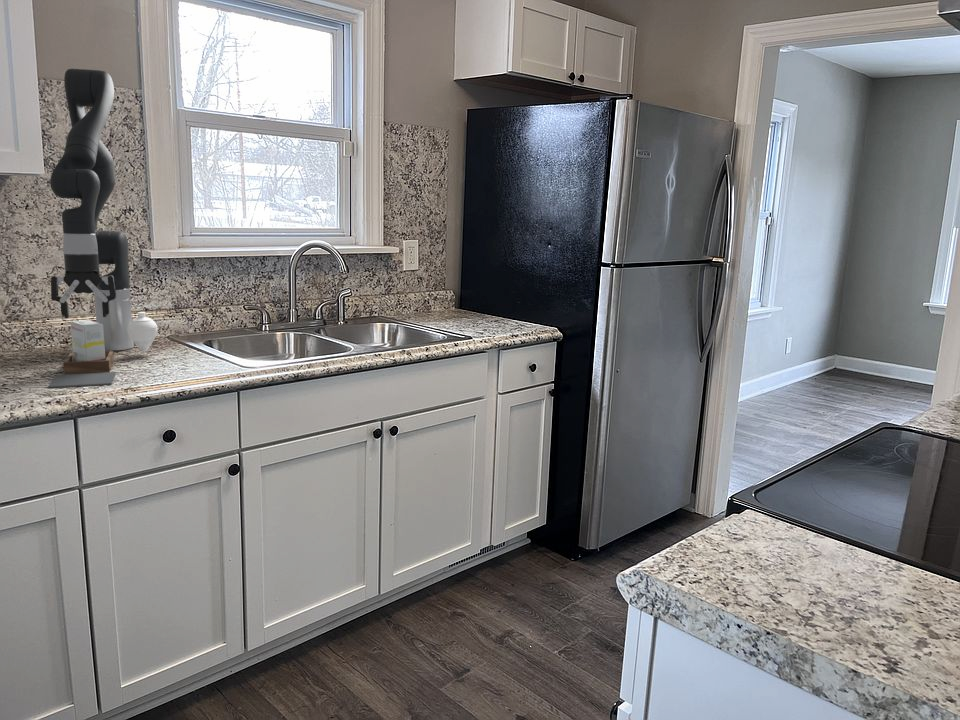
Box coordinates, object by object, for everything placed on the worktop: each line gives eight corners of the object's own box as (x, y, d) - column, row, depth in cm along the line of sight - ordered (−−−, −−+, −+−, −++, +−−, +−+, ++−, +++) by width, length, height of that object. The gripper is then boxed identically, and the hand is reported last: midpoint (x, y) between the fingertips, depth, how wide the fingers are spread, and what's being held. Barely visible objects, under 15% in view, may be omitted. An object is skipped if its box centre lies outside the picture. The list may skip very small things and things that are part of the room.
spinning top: (142, 351, 213) (139, 309, 211) (165, 353, 211) (162, 311, 209) (122, 356, 206) (119, 313, 203) (146, 358, 204) (143, 314, 201)
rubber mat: (56, 376, 182) (56, 374, 182) (115, 373, 187) (115, 371, 186) (48, 388, 171) (47, 386, 171) (111, 384, 176) (111, 383, 176)
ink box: (107, 369, 191) (104, 323, 188) (87, 372, 187) (83, 325, 185) (93, 364, 196) (89, 319, 194) (73, 366, 192) (69, 321, 190)
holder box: (71, 363, 196) (70, 352, 195) (114, 361, 199) (113, 350, 199) (64, 374, 184) (63, 362, 183) (109, 372, 187) (108, 360, 187)
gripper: (114, 251, 192) (118, 314, 195) (50, 251, 186) (56, 316, 190) (111, 253, 185) (116, 318, 188) (45, 252, 180) (51, 320, 183)
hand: (85, 317), depth 189 cm, fingers open, 8 cm apart
